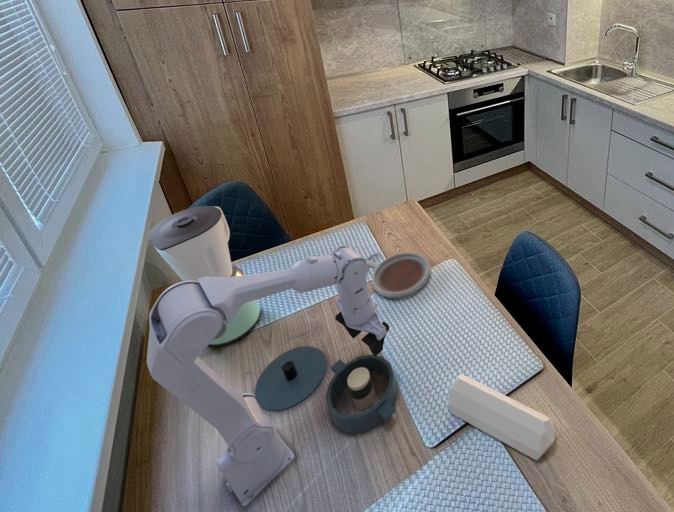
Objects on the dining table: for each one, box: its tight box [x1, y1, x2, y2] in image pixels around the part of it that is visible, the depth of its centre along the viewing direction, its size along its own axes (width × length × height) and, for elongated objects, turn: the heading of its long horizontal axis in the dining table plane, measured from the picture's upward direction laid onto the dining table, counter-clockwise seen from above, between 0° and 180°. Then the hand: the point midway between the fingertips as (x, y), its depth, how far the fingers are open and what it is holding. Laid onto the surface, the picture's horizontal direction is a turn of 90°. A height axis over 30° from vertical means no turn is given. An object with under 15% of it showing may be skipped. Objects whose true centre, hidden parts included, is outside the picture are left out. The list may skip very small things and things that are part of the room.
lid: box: [254, 345, 328, 412], centre depth 92 cm, size 15×15×5 cm
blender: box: [147, 205, 261, 347], centre depth 100 cm, size 19×13×35 cm
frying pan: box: [363, 251, 431, 300], centre depth 122 cm, size 17×3×28 cm
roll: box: [347, 367, 376, 410], centre depth 87 cm, size 4×4×8 cm
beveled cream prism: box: [447, 373, 556, 461], centre depth 84 cm, size 7×7×24 cm
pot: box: [325, 354, 398, 435], centre depth 87 cm, size 14×19×6 cm
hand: (367, 343), depth 90 cm, fingers open, 7 cm apart
